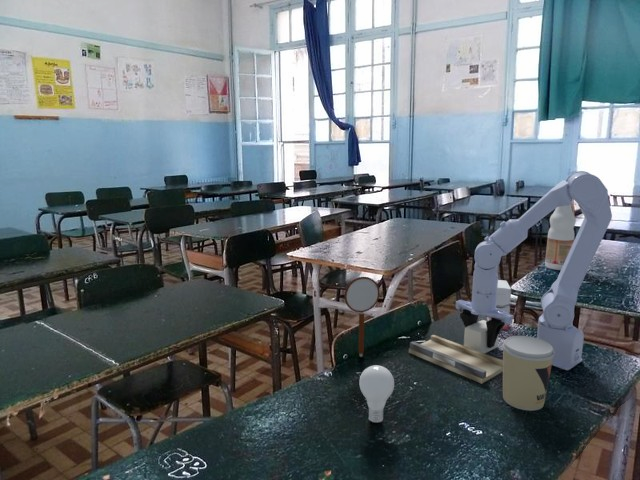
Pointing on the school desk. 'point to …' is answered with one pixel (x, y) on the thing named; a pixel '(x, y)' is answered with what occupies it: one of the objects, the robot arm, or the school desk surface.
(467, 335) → the carton
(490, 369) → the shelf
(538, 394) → the cream lidded canister
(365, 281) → the magnifying glass
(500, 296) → the ink box
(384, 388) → the lightbulb
